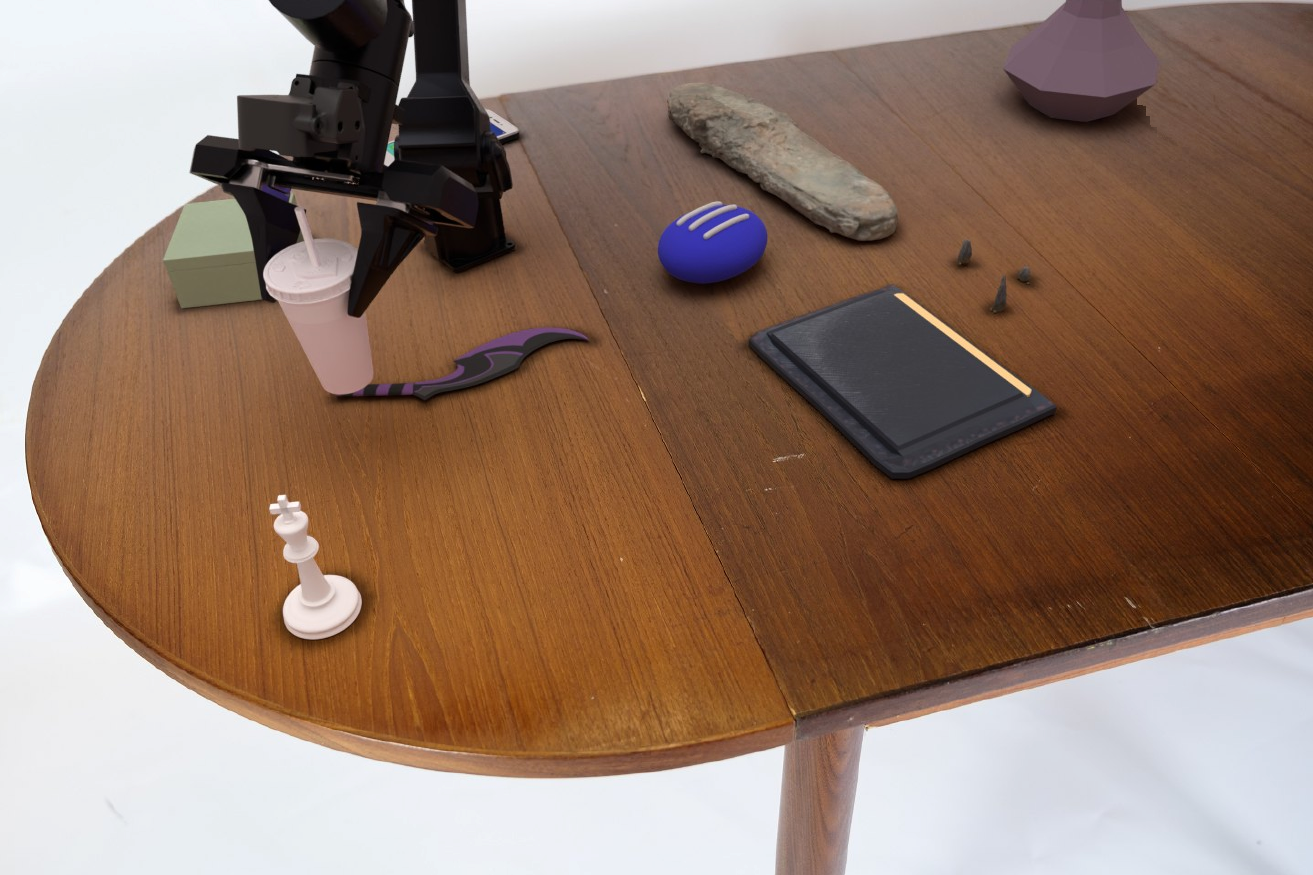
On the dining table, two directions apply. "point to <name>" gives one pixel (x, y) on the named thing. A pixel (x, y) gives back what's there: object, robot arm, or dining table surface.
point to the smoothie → (322, 308)
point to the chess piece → (312, 581)
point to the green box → (213, 255)
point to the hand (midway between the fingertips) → (310, 309)
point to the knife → (478, 364)
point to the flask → (1082, 62)
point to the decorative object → (712, 243)
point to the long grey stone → (783, 160)
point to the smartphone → (497, 125)
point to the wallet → (899, 381)
